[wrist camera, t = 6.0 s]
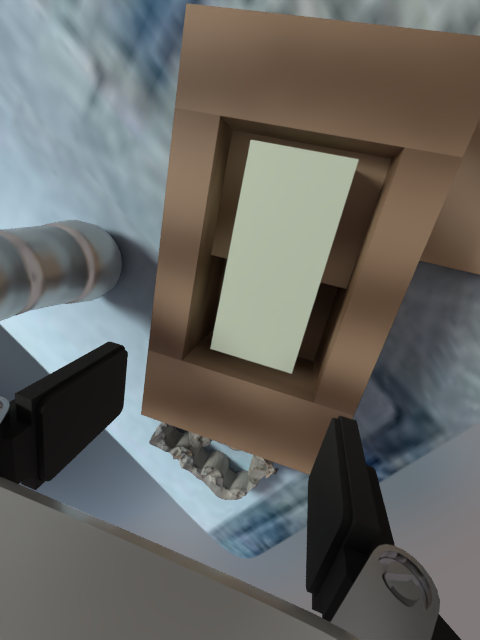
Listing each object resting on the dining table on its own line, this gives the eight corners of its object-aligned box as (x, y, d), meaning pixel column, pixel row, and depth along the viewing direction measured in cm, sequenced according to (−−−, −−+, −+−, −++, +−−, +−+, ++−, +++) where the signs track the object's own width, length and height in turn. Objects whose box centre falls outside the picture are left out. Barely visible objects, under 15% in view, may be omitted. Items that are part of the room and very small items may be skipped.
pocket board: (225, 71, 20) (186, 3, 14) (445, 103, 17) (512, 39, 11) (177, 374, 28) (141, 414, 22) (323, 422, 26) (326, 480, 20)
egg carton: (288, 441, 28) (284, 475, 24) (241, 481, 30) (231, 518, 27) (200, 370, 27) (182, 393, 24) (162, 417, 30) (140, 444, 26)
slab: (259, 151, 17) (250, 139, 15) (352, 168, 16) (358, 159, 14) (221, 336, 21) (210, 348, 19) (294, 357, 20) (291, 373, 18)
